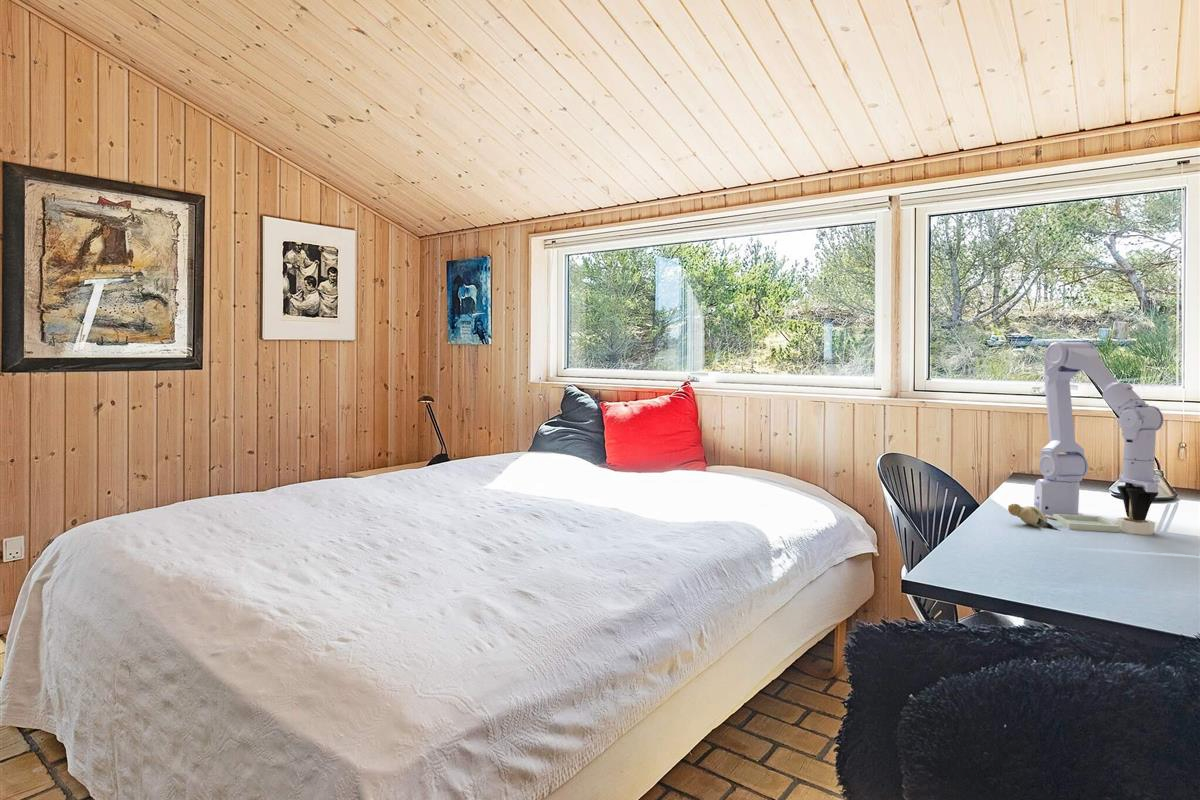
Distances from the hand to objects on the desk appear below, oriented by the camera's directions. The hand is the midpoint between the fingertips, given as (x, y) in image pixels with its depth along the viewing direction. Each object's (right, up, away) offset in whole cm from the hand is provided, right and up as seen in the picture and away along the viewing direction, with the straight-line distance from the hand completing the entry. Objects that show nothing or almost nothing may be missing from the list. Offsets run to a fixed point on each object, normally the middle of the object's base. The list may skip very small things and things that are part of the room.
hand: (1135, 518), depth 166 cm
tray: (-8, -3, +6) cm, 10 cm away
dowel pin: (0, -3, 0) cm, 3 cm away
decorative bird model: (-19, -3, +6) cm, 20 cm away
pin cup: (0, -3, 0) cm, 3 cm away
